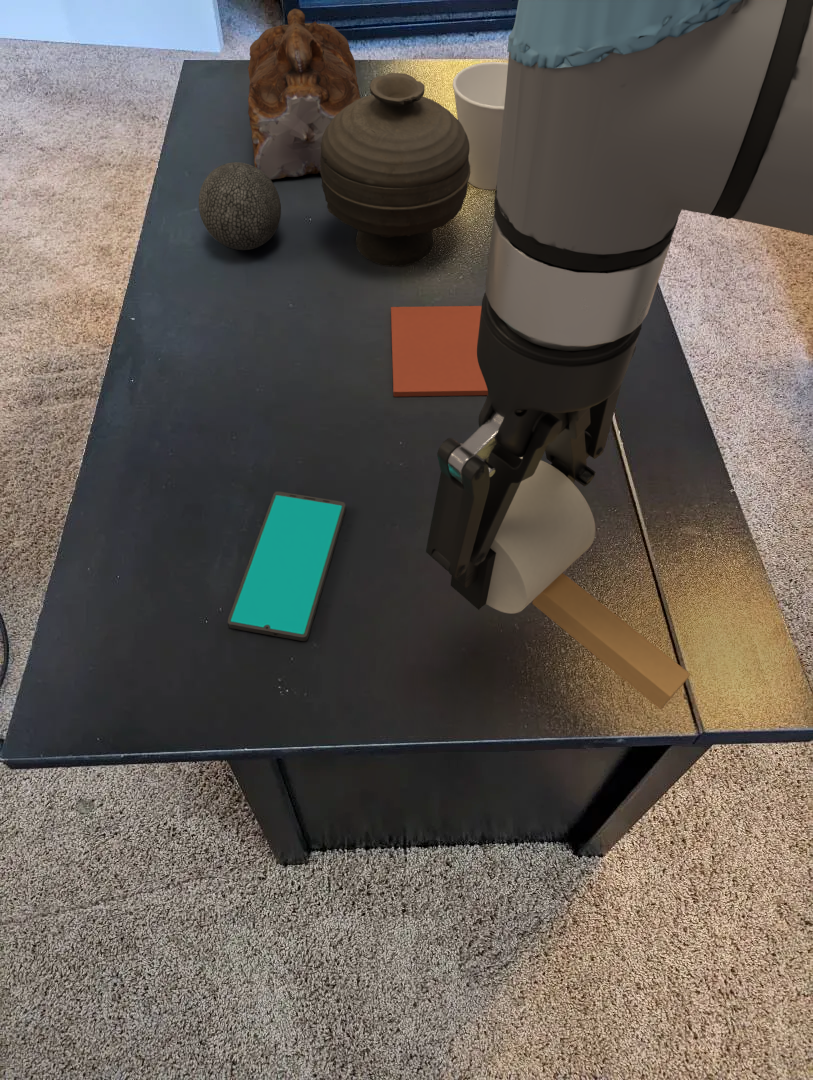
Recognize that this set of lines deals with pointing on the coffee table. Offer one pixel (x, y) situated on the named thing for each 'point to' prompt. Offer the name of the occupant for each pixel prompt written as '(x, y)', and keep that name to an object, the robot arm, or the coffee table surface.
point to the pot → (395, 169)
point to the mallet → (569, 582)
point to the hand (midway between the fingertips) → (505, 561)
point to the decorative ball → (239, 206)
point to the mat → (436, 351)
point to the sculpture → (297, 93)
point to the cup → (482, 117)
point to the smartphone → (288, 566)
